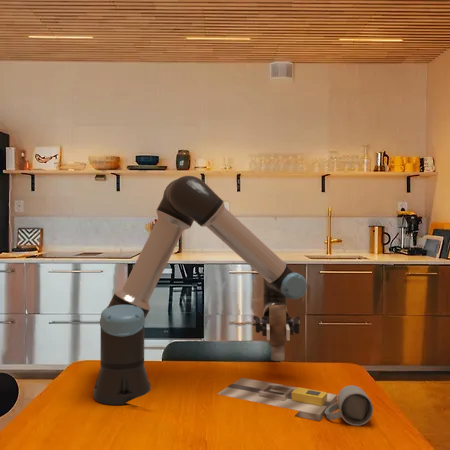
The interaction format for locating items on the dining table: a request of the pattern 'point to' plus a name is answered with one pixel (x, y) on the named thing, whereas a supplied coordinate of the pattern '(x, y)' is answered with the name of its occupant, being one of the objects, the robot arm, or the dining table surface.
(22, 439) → the dining table surface
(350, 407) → the ceramic mug
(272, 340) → the brown tall rounded piece
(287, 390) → the subfloor panel
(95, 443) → the dining table surface
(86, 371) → the dining table surface
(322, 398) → the block
